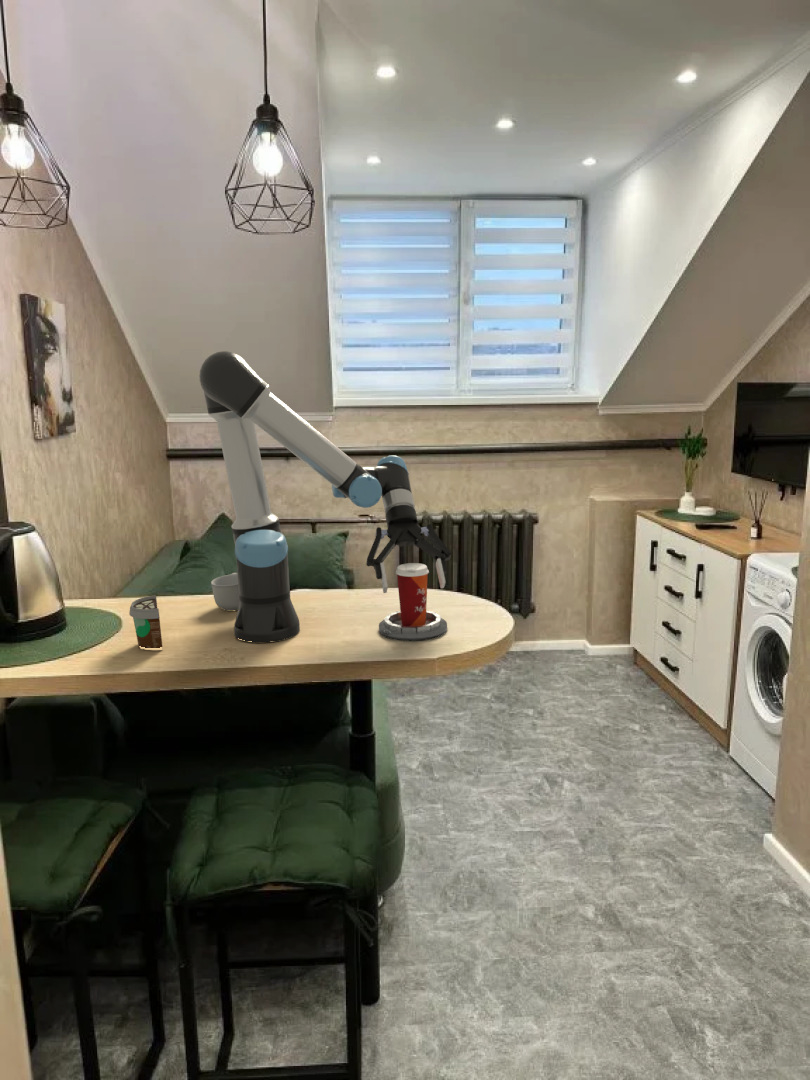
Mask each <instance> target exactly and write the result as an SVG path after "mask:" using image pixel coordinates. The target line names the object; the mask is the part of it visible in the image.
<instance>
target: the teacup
mask: <svg viewBox="0 0 810 1080" xmlns="http://www.w3.org/2000/svg"><path fill="white" fill-rule="evenodd" d="M210 584H211V587H212V594H213V599H214V602H215V604H216V605H217V606H218V608H220V609H222V610H223V609H225V610H224V611H226V610H237V609H238V608H239V604H240V598H239V586H238V574H237V572H232V573H231V574H225V575H222V576H218V577H216V578H214V579H212V580H211V582H210ZM237 611H238V610H237Z"/></svg>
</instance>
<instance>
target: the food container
mask: <svg viewBox="0 0 810 1080" xmlns="http://www.w3.org/2000/svg"><path fill="white" fill-rule="evenodd" d="M128 614H129V616H130V617H132V618H133V619H132V620H133V623H134V625H133V626H134V629H135V634H136V639H137V645H139V646H141V647H145V648H160V647H163V640H162V631H161V630H162V629H161V621H160V620H161V619H160V609H159V608H158V601H157V595H156V594H153V595H147V596H143V597H140V598H138V599H135V600H134V601H132V602H131V603H130V606H129V613H128ZM139 646H138V647H139Z"/></svg>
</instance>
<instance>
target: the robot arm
mask: <svg viewBox="0 0 810 1080" xmlns="http://www.w3.org/2000/svg"><path fill="white" fill-rule="evenodd" d="M199 382H200V383H199V384H200V386H201V389H202V390H203V394H204V399H205V403H206V409H207V412H208V416H210V417H211V418H213V420H215V422H216V424H217V430H218V434H219V439H220V444H221V449H222V450H221V451H222V455H223V460H224V465H225V470H226V475H227V480H228V485H229V490H230V495H231V499H232V505H233V508H234V515H235V520H234V521H233V522H232V524H231V531H232V537H233V541H234V546H235V547H234V555H235V558H236V559H235V560H236V573H237V574H238V586H239V598H240V604H239V608H238V610H237V612H236V618H235V621H234V626H233V630H234V631H233V632H234V637H235V636H236V637H237V638H239V639H242V640H245V641H252V642H269V643H271V642H270V641H276V642H280V641H279V640H281V641H284V639H285V640H287V639H290V638H292V637H295V636H296V635H297V634H299V633H300V631H301V629H300V628H301V626H300V619H299V617H298V614H297V612H296V609H295V607H294V605H293V602H292V600H291V590H290V589H291V588H290V574H289V573H290V572H289V558H288V557H289V556H288V552H289V546H288V543H287V539H286V536H285V535H284V533H282V530H281V529H282V528H281V525H280V519H279V517H278V516H277V515H276V514H275V513H272V509H271V505H270V499H269V494H268V489H267V488H268V487H267V483H266V478H265V473H264V467H263V466H264V465H263V463H262V457H261V451H260V446H259V441H258V436H257V430H256V426H258V427H259V428H260V429H261V430H263V431H264V432H265V433H266V434H268V435H269V436H270V437H271V438H273V439H274V440H276V442H278V443H279V444H281V445H282V446H283V447H285V448H286V449H287V450H288V451H289V452H291V453H292V454H293V455H294V456H296V457H297V459H299V460H300V461H301V462H303V463H304V464H305V465H307V466H308V467H309V468H311V470H312V471H314V472H316V473H317V474H318V475H319V476H321V477H322V478H323V479H324V480H325V481H327V482H328V484H329V483H330V484H331V491H332V495H333V497H334V498H337V499H346V498H348V499H349V500H350V501H351V503H353V504H354V505H355V506H357V507H359V508H365V509H367V508H372V507H374V506H375V505H376V504H378V503H379V501H380V500H381V498H382V504H383V508H384V510H383V511H384V514H385V520H386V521H385V522H386V527H387V529H382V528H381V527H380V526H379V527H376V528H375V529H376V530H375V539H374V541H373V544H372V546H371V548H370V550H369V554H368V555H367V558H366V563H365V565H366V566H367V567H373V569H374V571H375V577H376V579H377V580H381V581H380V582H381V587H382V592H383V594H386V593H387V592H388V587H389V586H388V582H387V581H388V580H387V576H386V568H385V563H384V561H385V560H386V559H387V557H388V556H389V555H390V553H391V552H392V551H393V550H394V549H395V547H396V546H397V547H405V546H407V547H410V546H411V547H412V546H413V545H414V546H415V547H417V548H420V549H421V550H422V551H424V553H426V554H427V555H428V556H429V557H431V558H432V559H434V561H436V562H435V568H436V572H437V577H438V582H439V587H440V589H444V588H445V586H446V577H445V575H446V574H447V569H448V568H447V564H446V561H450V559H451V556H452V552H451V550H450V549H449V548H448V547H447V546H446V544H445V543H444V542H443V540H442V539H441V538H440V537H439V536H438V534H436V532H435V531H434V528H433V525H432V524H430V523H429V524H427V525H426V526H423V527H421V526H420V525H419V521H418V516H417V511H416V506H415V501H414V496H413V493H412V488H411V481H410V475H409V474H410V473H409V471H408V467H407V464H406V462H405V460H404V459H403V458H402V457H401V456H397V455H388V456H386V457H385V456H384V457H382V458H381V459H379V461H378V462H377V463H376V465H374V466H373V465H372V466H361V465H360V464H358V463H357V462H356V461H355V460H354V459H352V457H350V456H349V455H347V454H346V453H345V452H344V451H343V450H341V449H340V448H339V447H338V446H337V445H335V444H334V443H333V442H332V441H331V440H329V439H328V438H327V437H326V436H324V435H323V434H322V433H321V432H320V431H318V430H317V429H316V428H314V427H313V426H312V424H310V423H309V422H308V421H306V419H304V418H302V417H301V416H300V415H299V414H298V413H297V412H295V411H294V410H293V409H292V408H290V407H289V406H288V405H287V404H286V403H285V402H283V401H282V400H281V399H280V398H278V396H276V395H275V394H273V393H272V392H271V389H270V384H269V383H267V382H266V381H265V380H264V379H263V378H261V377H260V376H259V375H258V373H257V372H256V371H255V370H254V369H253V368H252V367H251V366H250V364H249V363H248V362H247V361H246V359H245V358H243V357H242V356H241V355H240V354H237V353H234V352H232V351H229V350H228V351H227V350H225V351H224V350H222V351H216V352H215V353H213V354H211V355H209V356H207V358H206V359H205V360H204V361H203V363H202V364H201V367H200V370H199ZM422 534H424V535H422ZM385 536H386V537H387V538H388V539H389V541H388V543H387V544H386V545H385V546H384V548H383V549H382V550H381V552H380V553H379V554H378V556H377V557H376V554H377V551H378V549H379V548H380V544H381V541H382V540H383V539H384V538H385ZM423 536H425V537H427V539H428V540H429V541H427V540H426V539H425V538H424V537H423ZM429 542H430V543H429ZM375 557H376V558H375ZM236 637H235V638H236ZM237 638H236V639H237Z"/></svg>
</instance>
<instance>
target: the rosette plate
mask: <svg viewBox="0 0 810 1080" xmlns="http://www.w3.org/2000/svg"><path fill="white" fill-rule="evenodd" d="M447 631H448V622H447V620H445V619H444V618H443V617H442V615H440V614H438V613H436V612H435V611H430V610H426V624H425V625H421V626H402V622H401V612H400V610H399V611H394V612H392V613H389V614H388V615H387V614H386V615H385V618H384V619H383V620H381V621H380V622H379V623H378V633H379V634H380V635H381V636H382V637H384V638H387V639H390V640H393V641H400V642H421V641H423V642H424V641H429V640H433V639H436V638H440V637H442V636H443V635H445V634H446V633H447ZM445 632H446V633H445ZM444 633H445V634H444ZM441 635H442V636H441Z"/></svg>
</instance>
